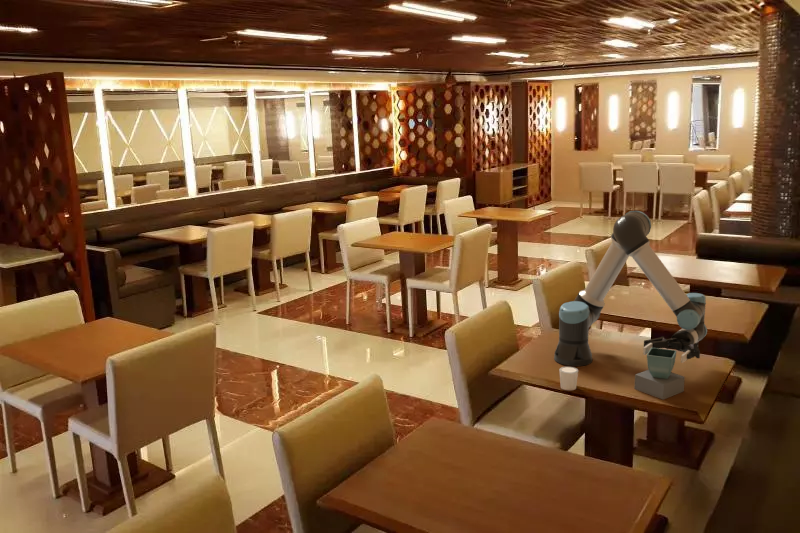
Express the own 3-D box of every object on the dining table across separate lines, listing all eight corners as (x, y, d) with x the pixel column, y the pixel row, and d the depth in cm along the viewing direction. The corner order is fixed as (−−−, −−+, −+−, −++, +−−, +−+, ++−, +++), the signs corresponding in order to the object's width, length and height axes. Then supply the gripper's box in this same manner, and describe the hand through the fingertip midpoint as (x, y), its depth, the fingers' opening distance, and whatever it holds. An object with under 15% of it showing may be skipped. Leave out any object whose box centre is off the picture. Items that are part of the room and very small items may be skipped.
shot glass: (576, 383, 251) (576, 366, 249) (579, 391, 244) (579, 373, 243) (557, 383, 252) (558, 366, 250) (560, 391, 245) (560, 373, 243)
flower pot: (645, 378, 239) (646, 354, 238) (650, 370, 247) (651, 347, 245) (671, 382, 235) (672, 358, 233) (675, 373, 242) (676, 350, 240)
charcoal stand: (634, 389, 245) (635, 374, 243) (654, 382, 251) (655, 367, 250) (662, 400, 235) (663, 384, 233) (683, 392, 241) (684, 376, 240)
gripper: (718, 355, 247) (698, 372, 232) (651, 342, 264) (628, 357, 248) (719, 336, 246) (699, 352, 230) (652, 324, 262) (629, 338, 247)
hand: (662, 355), depth 239 cm, fingers open, 13 cm apart
